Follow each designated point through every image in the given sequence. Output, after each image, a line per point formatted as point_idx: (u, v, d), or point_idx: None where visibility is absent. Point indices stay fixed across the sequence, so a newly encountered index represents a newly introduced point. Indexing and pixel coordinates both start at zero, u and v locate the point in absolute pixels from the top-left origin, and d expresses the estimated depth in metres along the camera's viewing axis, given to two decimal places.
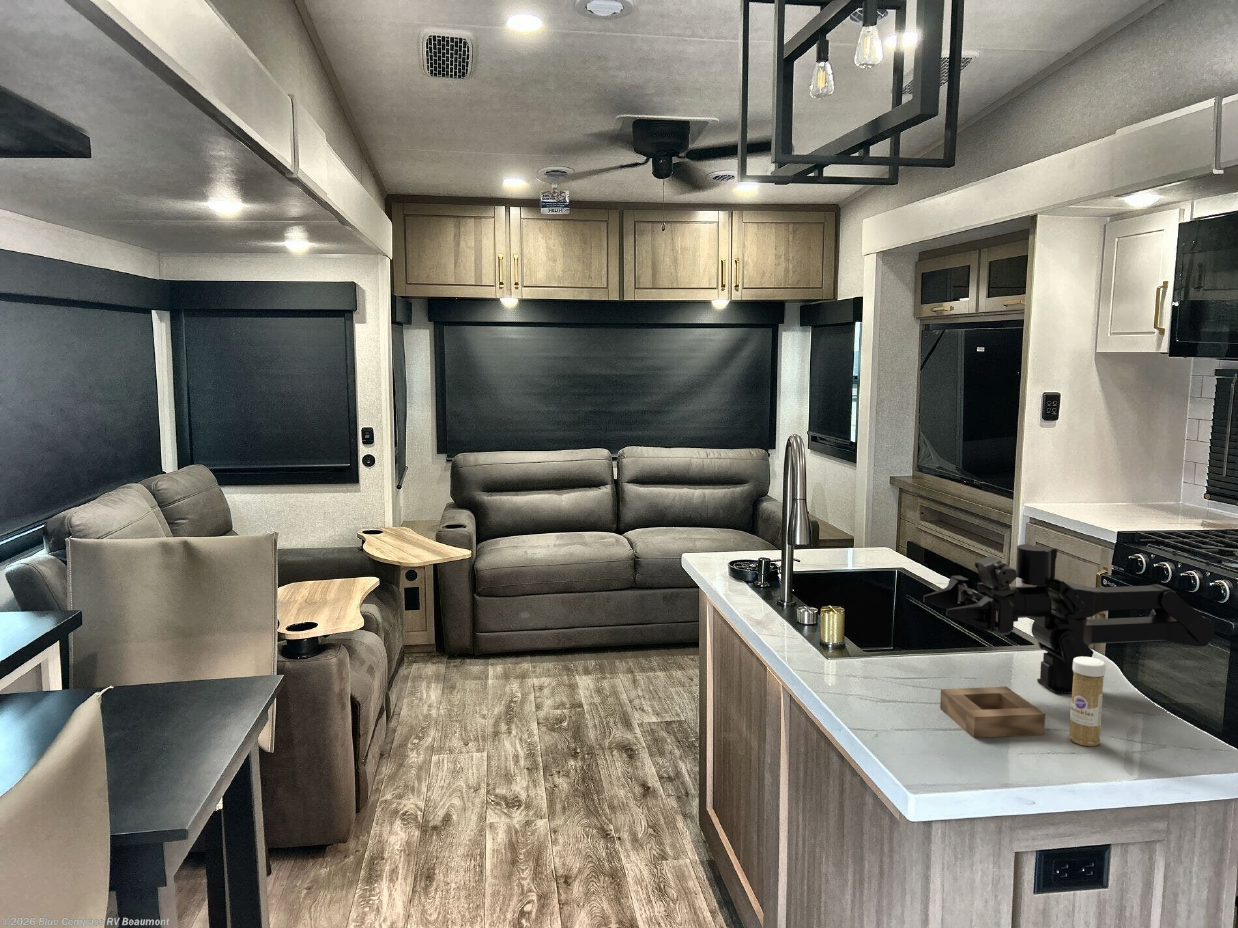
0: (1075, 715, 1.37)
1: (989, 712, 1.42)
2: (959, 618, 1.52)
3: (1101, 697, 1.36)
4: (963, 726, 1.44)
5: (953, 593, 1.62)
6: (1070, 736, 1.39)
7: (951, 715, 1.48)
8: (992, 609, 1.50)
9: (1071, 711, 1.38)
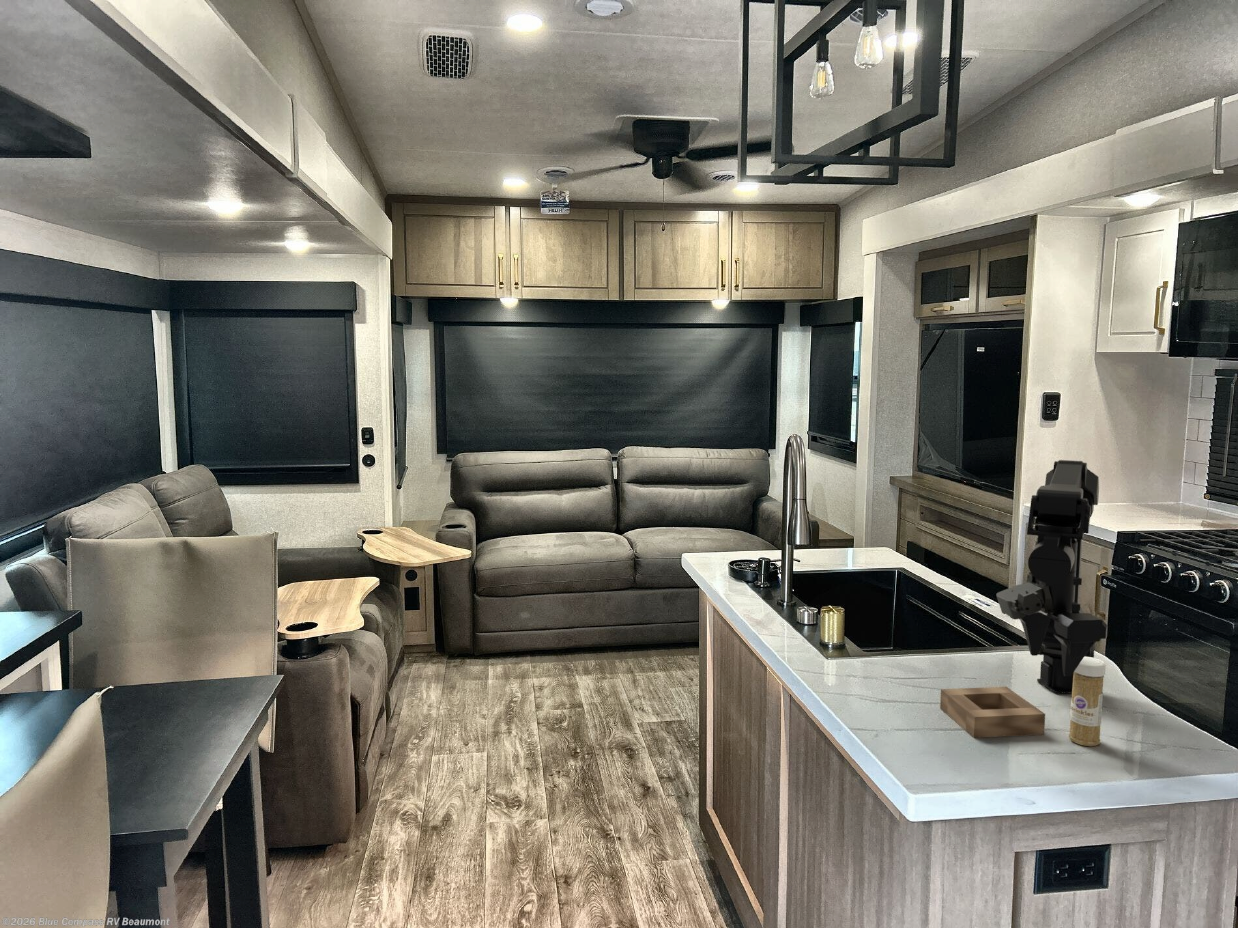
0: (1075, 715, 1.37)
1: (989, 712, 1.42)
2: (1077, 664, 1.31)
3: (1101, 697, 1.36)
4: (963, 726, 1.44)
5: (1030, 619, 1.41)
6: (1070, 736, 1.39)
7: (951, 715, 1.48)
8: (1075, 641, 1.28)
9: (1071, 711, 1.38)
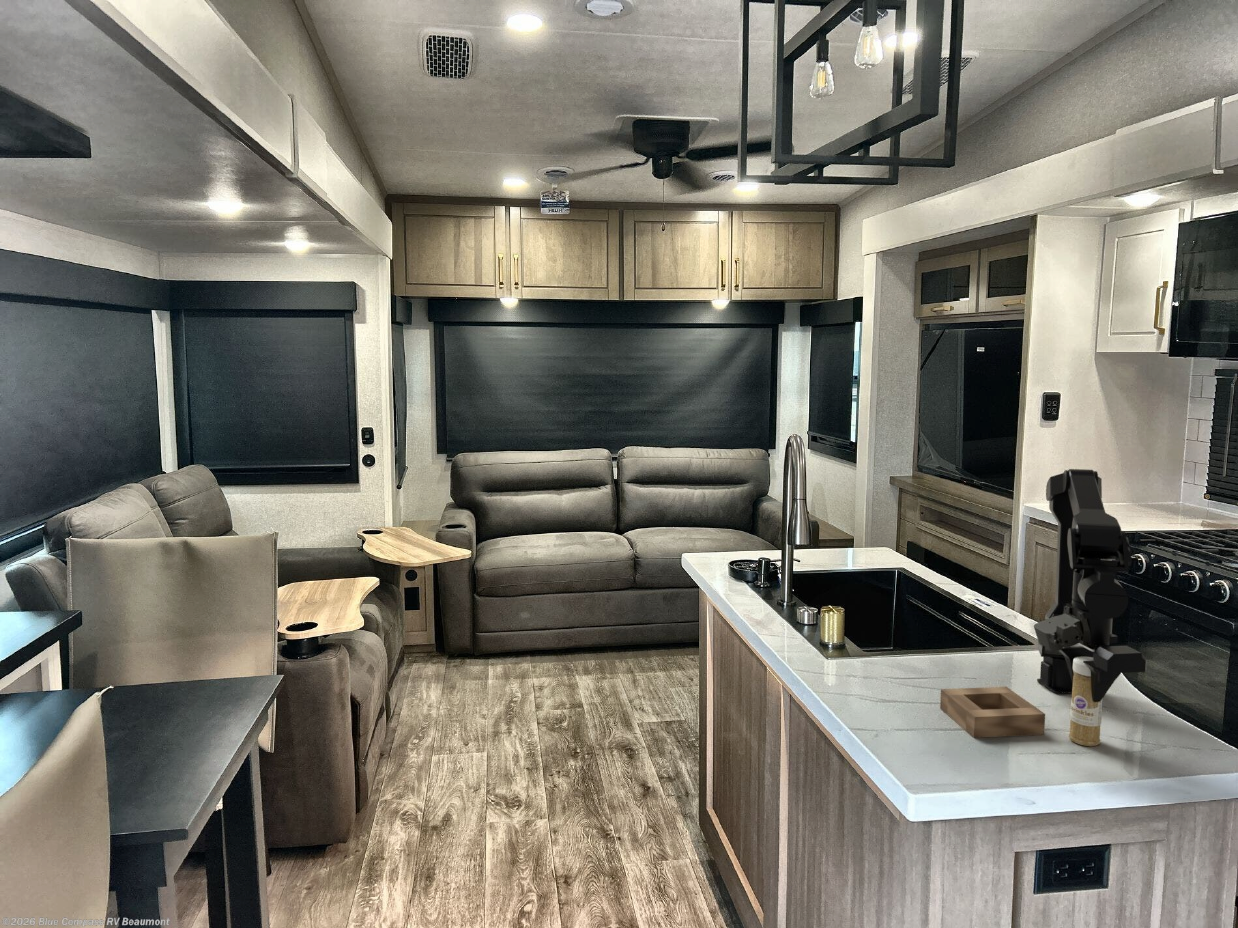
0: (1075, 715, 1.37)
1: (989, 712, 1.42)
2: (1105, 690, 1.34)
3: None
4: (963, 726, 1.44)
5: (1074, 654, 1.40)
6: (1070, 736, 1.39)
7: (951, 715, 1.48)
8: None
9: (1071, 711, 1.38)
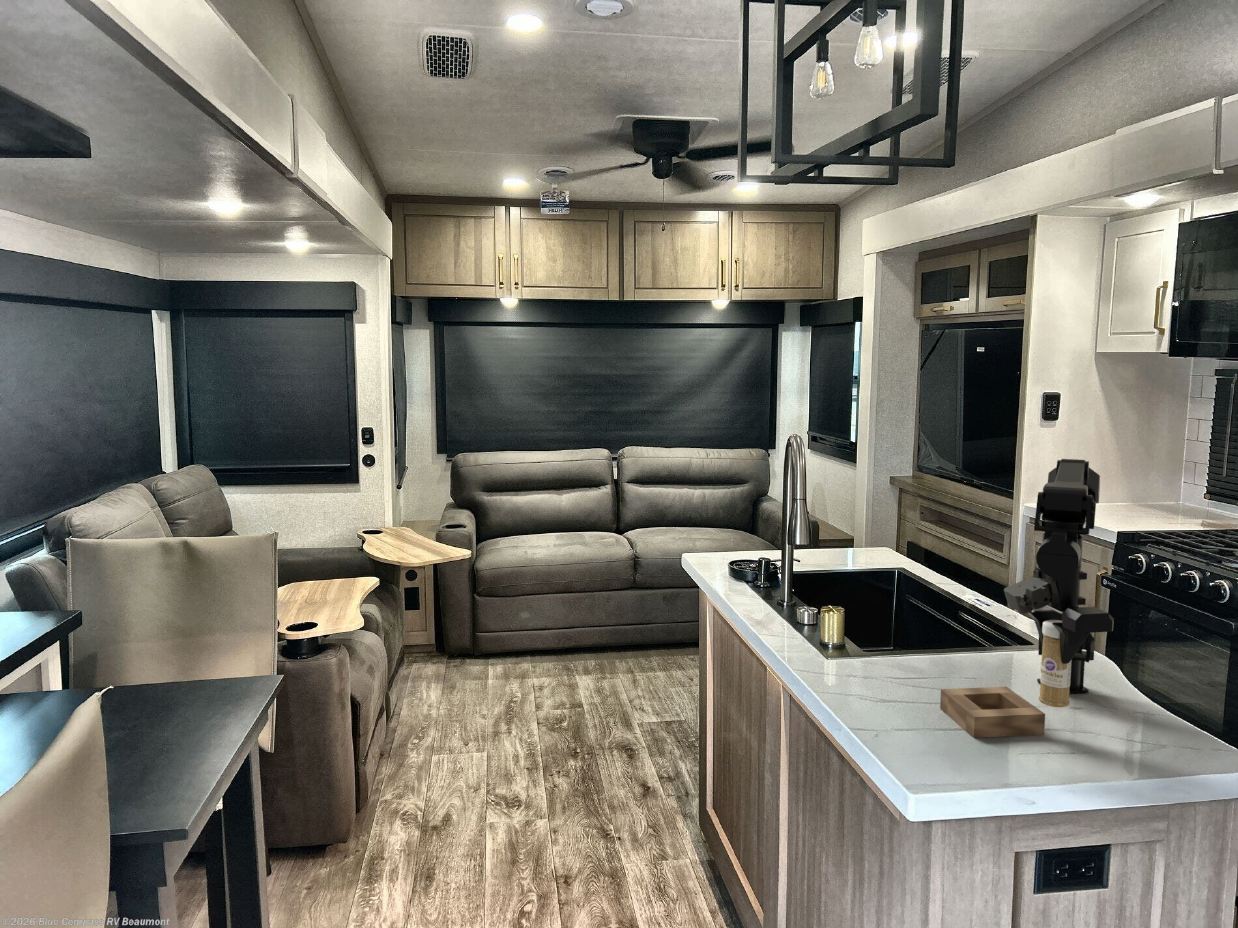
0: (1045, 677, 1.39)
1: (989, 712, 1.42)
2: (1074, 652, 1.36)
3: None
4: (963, 726, 1.44)
5: (1044, 617, 1.42)
6: (1040, 698, 1.41)
7: (951, 715, 1.48)
8: None
9: (1041, 673, 1.40)
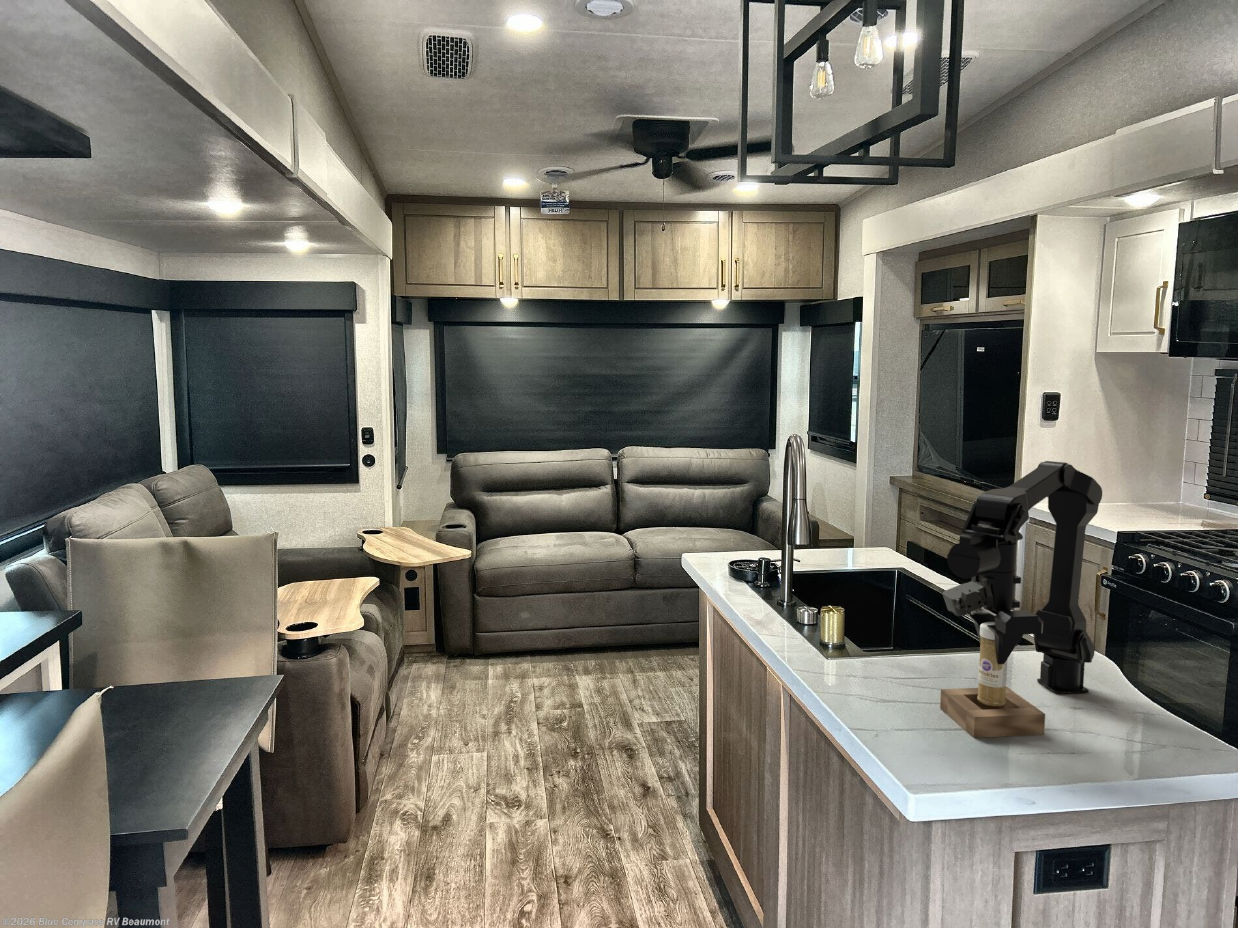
0: (982, 677, 1.45)
1: (989, 712, 1.42)
2: (1009, 653, 1.42)
3: None
4: (963, 726, 1.44)
5: (982, 619, 1.47)
6: (978, 697, 1.46)
7: (951, 715, 1.48)
8: None
9: (979, 673, 1.46)
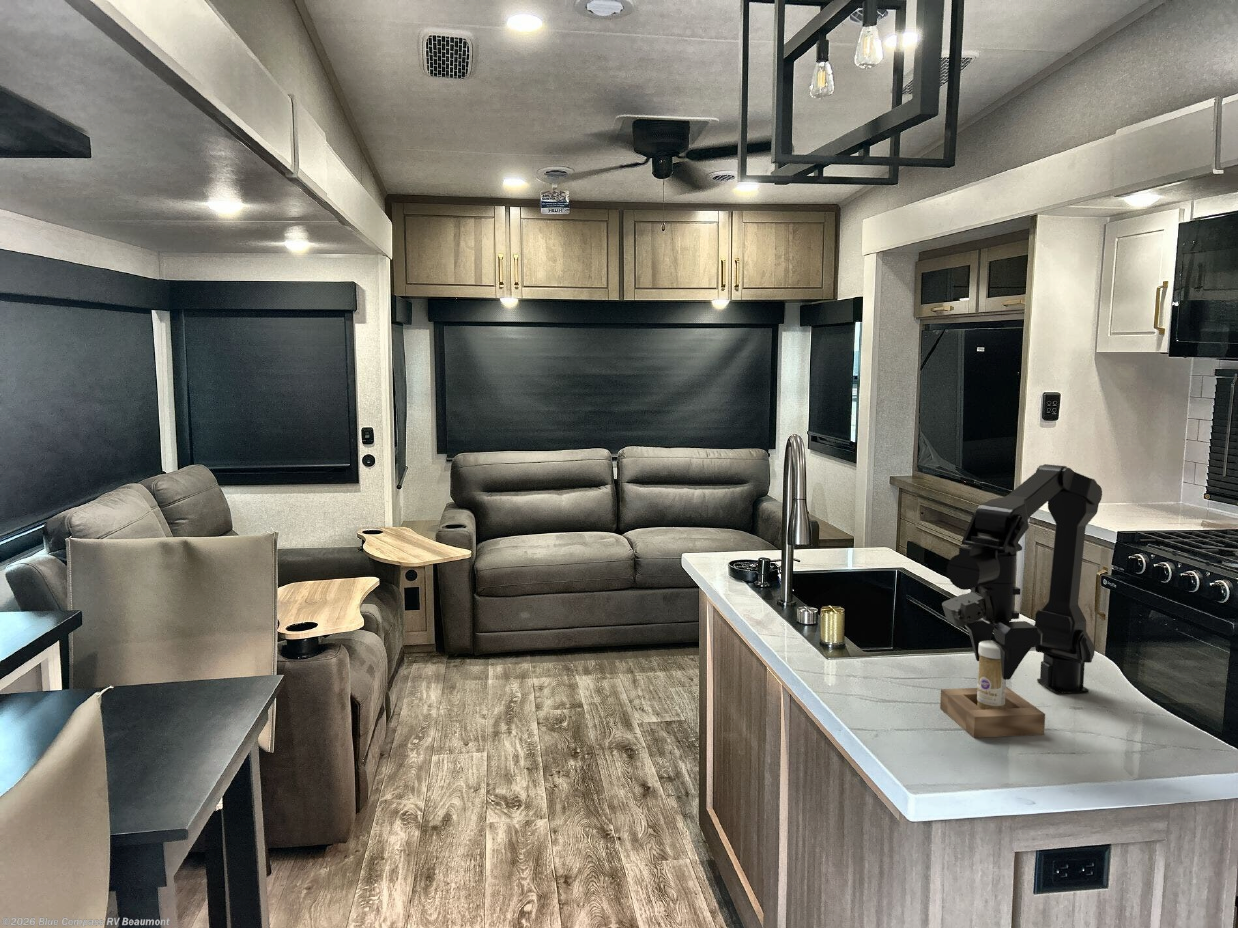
0: (981, 695, 1.45)
1: (989, 712, 1.42)
2: (1014, 668, 1.40)
3: None
4: (963, 726, 1.44)
5: (976, 626, 1.49)
6: None
7: (951, 715, 1.48)
8: (1011, 647, 1.37)
9: (978, 692, 1.46)
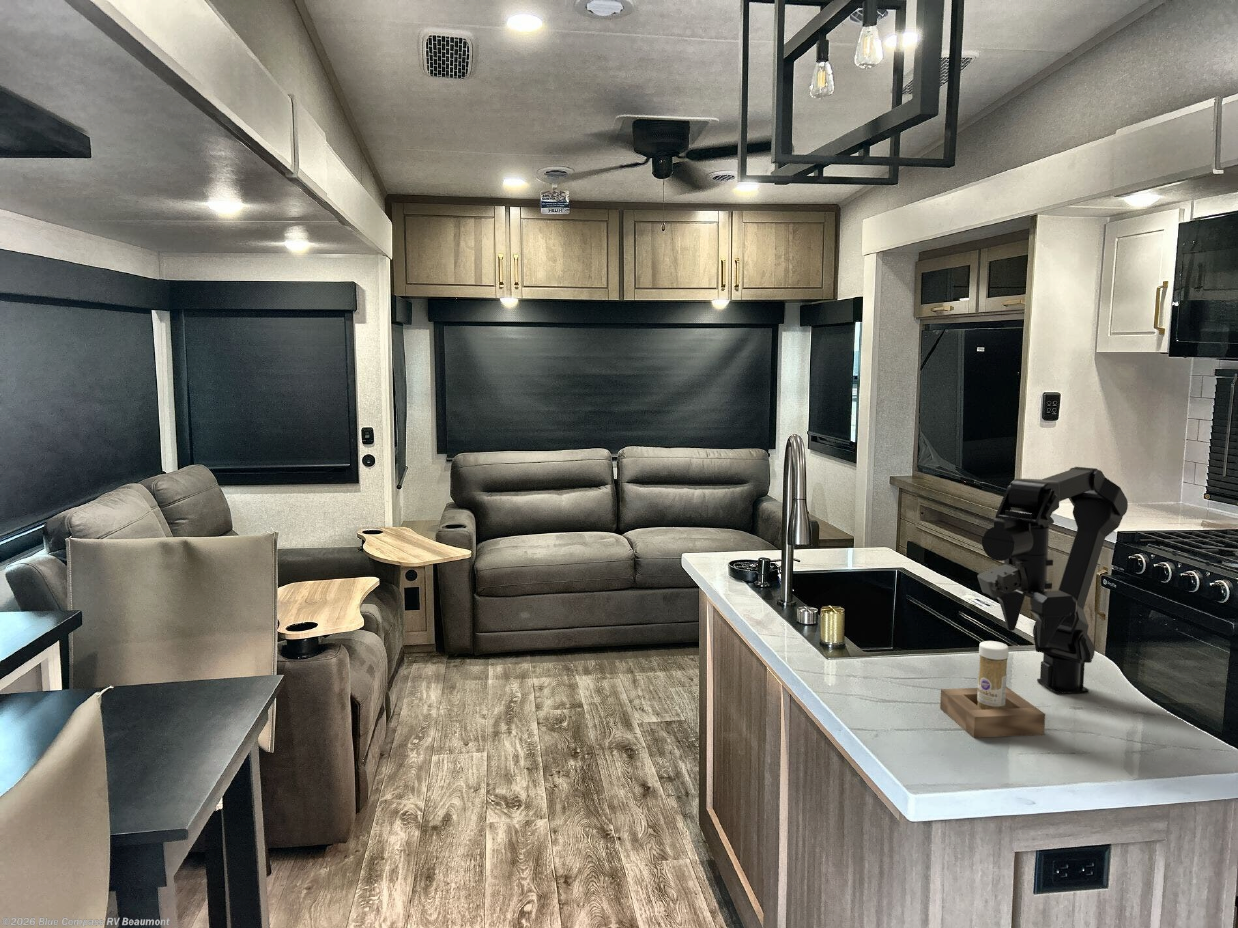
0: (981, 696, 1.45)
1: (989, 712, 1.42)
2: (1050, 636, 1.46)
3: (1004, 679, 1.44)
4: (963, 726, 1.44)
5: (1007, 597, 1.56)
6: None
7: (951, 715, 1.48)
8: (1048, 616, 1.43)
9: (978, 692, 1.46)
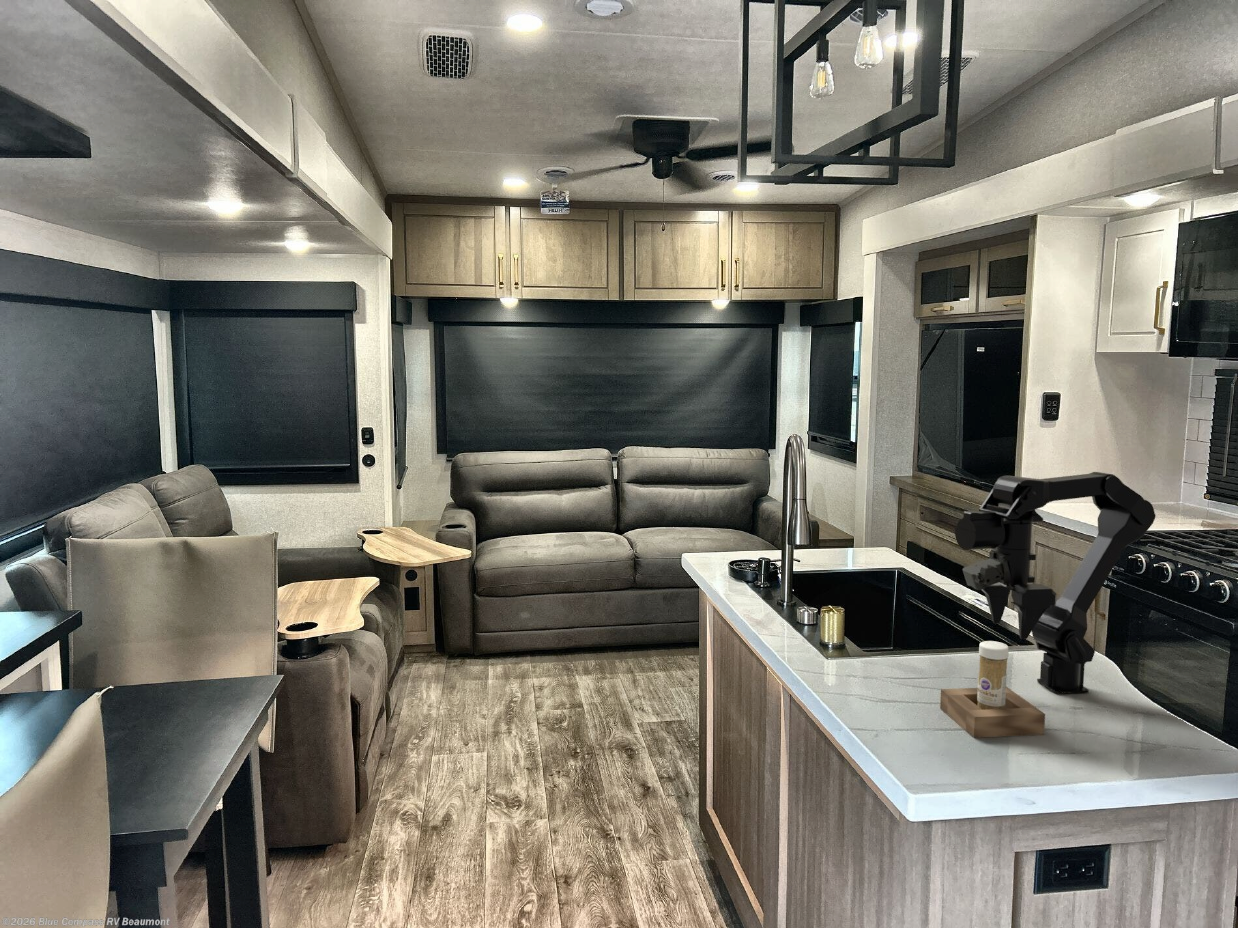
0: (981, 696, 1.45)
1: (989, 712, 1.42)
2: (1031, 628, 1.51)
3: (1004, 679, 1.44)
4: (963, 726, 1.44)
5: (993, 591, 1.61)
6: None
7: (951, 715, 1.48)
8: (1028, 607, 1.48)
9: (978, 692, 1.46)
